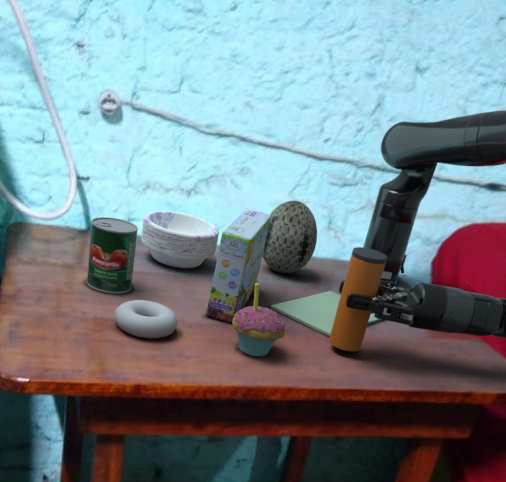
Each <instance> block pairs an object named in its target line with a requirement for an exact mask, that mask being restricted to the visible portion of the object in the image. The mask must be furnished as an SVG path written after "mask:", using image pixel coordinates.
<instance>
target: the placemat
mask: <svg viewBox="0 0 506 482" xmlns="http://www.w3.org/2000/svg"><path fill="white" fill-rule="evenodd" d="M340 296H341V294H340V293H337V292H334V291H331V290H328V291H325V292H320V293H316V294H312V295H308V296H304V297H300V298H296V299H295V298H294V299H292V300H286V301H283V302H279V303H275V304H270V307H269V309H270V310H271V309H272V310H274V311H275V312H276V313H280V314H281V315H283V316H286V317H288V318H289V319H291V320H294V321H296V322H298V323H300V324H302V325H305V326H306V327H308V328H311V329H313V330H315V331H316V332H318V333H321V334H322V335H325V336H327V337H329V338H330V334H331V330H332V326H333V323H334V319H335V315H336V311H337V308H338V304H339V300H340ZM374 315H375V314H370V318H369V321H368V325H371V324H372V325H373V324H376V323H377V322H381V321H384V320H383V319H378V318H376V317H374ZM368 325H367V326H368Z"/></svg>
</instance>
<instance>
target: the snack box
mask: <svg viewBox="0 0 506 482" xmlns="http://www.w3.org/2000/svg"><path fill="white" fill-rule="evenodd" d="M270 214H271V213H266V212H263V211H260V210H256V209H251V208H248V207H247V208H245V209H244V210H243V211H242V212H241V213H240V214H239V215H238V216H237V217H236V218H235V219H234V220H233V221H232V222H231V223H230V224H229V225H228V226H227V227H226V228H225V229H224V230H223V231H222V232H221V237H220V242H219V247H218V252H217V258H216V262H215V263H216V264H215V268H214V273H213V277H212V283H211V287H210V292H209V293H210V294H209V297H208V303H207V307H206V312H205V316H207V317H211V318H213V319H218V320H220V321H224V322H228V323H231V324H232V321H233V317H234V314H235V313H237V311H239V310H241V309H243V308H244V307H245V305H246V303H247V302H248V301H249V299H250V298H251V296H252V295H253V294H254V293H255V284H256V279H257V280H258V277H259V272H260V268H261V263H262V259H263V257H262V255H263V251H264V246H265V242H266V238H267V233H268V229H269V224H270V220H271V217H272V215H270Z"/></svg>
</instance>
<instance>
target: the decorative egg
mask: <svg viewBox="0 0 506 482" xmlns="http://www.w3.org/2000/svg"><path fill="white" fill-rule="evenodd" d="M269 214H270V215H272V217H271V220H270V224H269V229H268V233H267V238H266V242H265V246H264V251H263V255H262V259H263V260H264V262H265V263H266V265H267V266H268V267H269V268H270V269H272V270H273V271H274V272H277V273H281V274H292V273H295V272H297V271H300V270H301V269H303V268H305V266H306V265H307V264H308V263H309V262H310V260H312V257H313V255H314V252H315V250H316V246H317V240H318V226H317V221H316V218H315V216H314V213H313V212H312V211H311V209H310V208H309V207H308V205H306V204H305V203H304V202H302V201H299V200H288V201H284V202H283V203H281V204H279V205H277V206H276V207H275V208H274V209H273V210H272V211H271V212H270V213H269Z"/></svg>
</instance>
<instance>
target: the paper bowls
mask: <svg viewBox="0 0 506 482" xmlns="http://www.w3.org/2000/svg"><path fill="white" fill-rule="evenodd" d="M219 234H220V231H219V229H218V227H217V226H216V225H215V224H213V223H212V222H210V221H208V220H206V219H203V218H201V217H198V216H195V215H193V214H188V213H184V212H176V211H170V210H157V211H156V210H155V211H150V212H147V213H146V214H145V215H144V216H143V219H142V229H141V238H140V239H141V240H140V241H141V242H142V244H143V245H144V246H145V247H146V248H148V249H149V252H150V255H151V257H152V258H153V259H154V260H155V261H157V262H158V263H161V264H163V265H166V266H168V267H173V268H178V269H193V268H198V267H199V266H201V265H202V263H203V262H204V261H205V259H210V258H211V257H214V256H215V253H216V250H217V245H218V241H219V240H218V239H219Z"/></svg>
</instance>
